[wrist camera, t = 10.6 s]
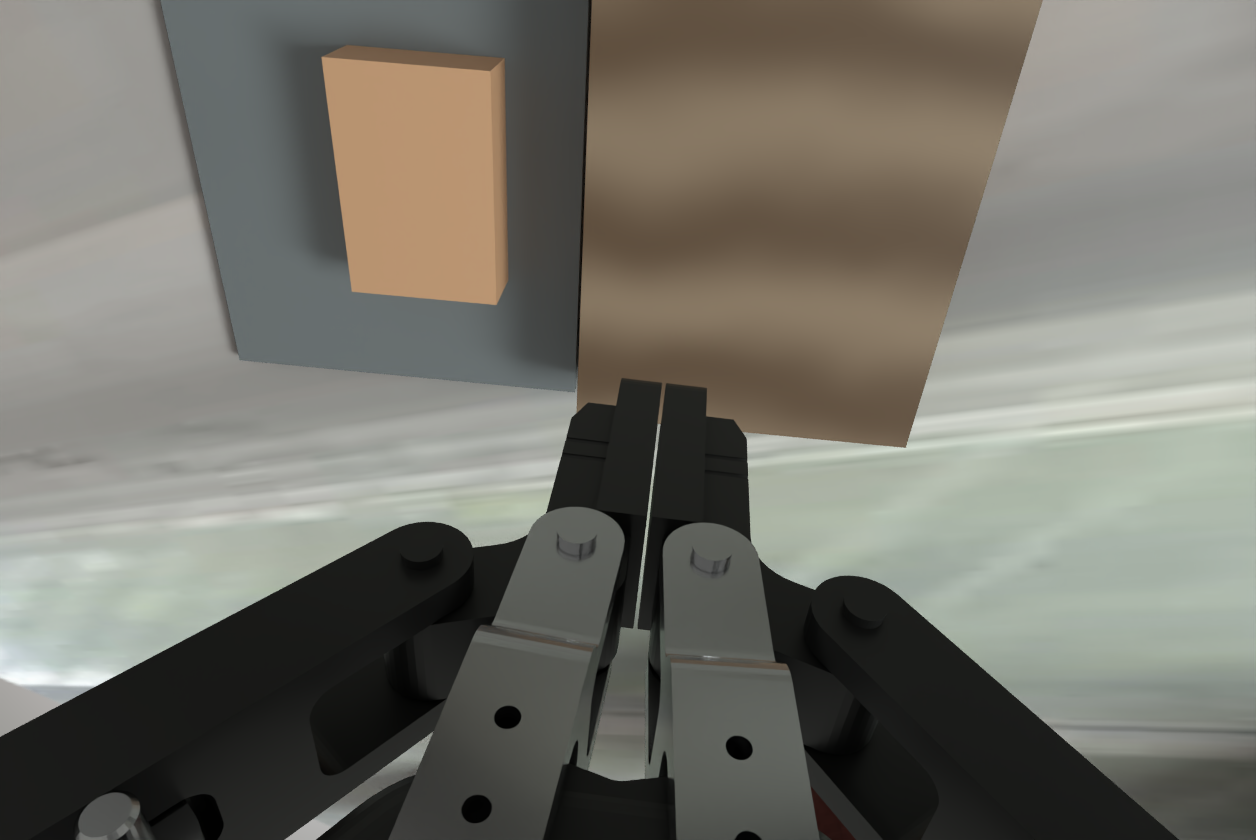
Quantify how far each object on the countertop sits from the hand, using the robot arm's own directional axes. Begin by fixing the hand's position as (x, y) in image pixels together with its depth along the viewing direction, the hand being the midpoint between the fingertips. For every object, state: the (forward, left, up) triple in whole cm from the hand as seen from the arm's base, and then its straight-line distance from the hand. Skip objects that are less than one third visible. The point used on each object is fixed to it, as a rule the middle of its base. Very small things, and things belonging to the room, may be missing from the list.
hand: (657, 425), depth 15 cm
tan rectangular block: (+3, -10, -20) cm, 22 cm away
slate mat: (+2, -12, -21) cm, 25 cm away
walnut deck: (+2, +4, -21) cm, 22 cm away
